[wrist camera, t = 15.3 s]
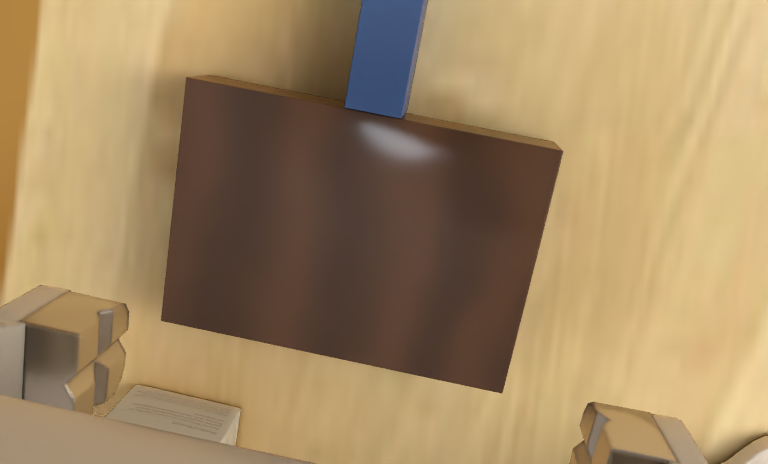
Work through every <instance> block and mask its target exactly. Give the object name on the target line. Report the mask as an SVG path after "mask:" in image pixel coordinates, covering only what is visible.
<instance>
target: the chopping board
mask: <svg viewBox="0 0 768 464" xmlns="http://www.w3.org/2000/svg"><path fill="white" fill-rule="evenodd" d="M344 106H345V101H340V100H335V99H330V98H325V97H320V96H314V95H309V94H304V93H299V92H294V91H289V90H284V89H278V88H273V87H268V86H263V85H258V84H253V83H248V82H242V81H237V80H232V79H227V78H222V77H217V76H212V75H205V76H196V77H187V78H186V87H185V96H184V106H183V115H182V125H181V134H180V144H179V154H178V163H177V173H176V182H175V192H174V201H173V211H172V221H171V230H170V240H169V249H168V259H167V268H166V278H165V287H164V297H163V307H162V316H161V321H165V322H170V323H174V324H179V325H184V326H189V327H193V328H198V329H203V330H207V331H212V332H217V333H221V334H226V335H231V336H235V337H240V338H245V339H249V340H254V341H259V342H264V343H268V344H273V345H278V346H282V347H287V348H292V349H296V350H301V351H306V352H310V353H315V354H320V355H324V356H329V357H334V358H339V359H343V360H348V361H353V362H357V363H362V364H367V365H371V366H376V367H381V368H385V369H390V370H395V371H399V372H404V373H409V374H414V375H418V376H423V377H428V378H432V379H437V380H442V381H446V382H451V383H456V384H460V385H465V386H470V387H474V388H479V389H484V390H489V391H493V392H498V393H503V389H504V385H505V381H506V377H507V373H508V369H509V365H510V361H511V357H512V353H513V349H514V345H515V341H516V337H517V333H518V329H519V326H520V322H521V318H522V314H523V310H524V306H525V302H526V298H527V294H528V290H529V286H530V282H531V278H532V274H533V270H534V266H535V262H536V258H537V254H538V250H539V246H540V242H541V238H542V234H543V230H544V226H545V222H546V218H547V214H548V210H549V206H550V202H551V198H552V194H553V190H554V187H555V183H556V179H557V175H558V171H559V167H560V163H561V159H562V155H563V150H562V149H561V148H560V147H559V146H558V145H557V144H556V143H554V142H551V141H546V140H541V139H536V138H531V137H525V136H520V135H515V134H510V133H505V132H500V131H495V130H489V129H484V128H479V127H474V126H469V125H464V124H459V123H453V122H448V121H443V120H438V119H433V118H428V117H423V116H417V115H412V114H407V113H405V115H404V116H403V117H402V118H401V119H400V118H395V117H390V116H385V115H380V114H375V113H370V112H364V111H359V110H354V109H349V108H345V107H344Z"/></svg>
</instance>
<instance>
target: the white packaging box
mask: <svg viewBox="0 0 768 464" xmlns="http://www.w3.org/2000/svg"><path fill="white" fill-rule="evenodd" d="M240 412H241V409H240V408H237V407H234V406H229V405H225V404H221V403H217V402H212V401H208V400H204V399H200V398H195V397H191V396H187V395H183V394H178V393H174V392H170V391H165V390H161V389H156V388H153V387H148V386H142V385H135V386H134V387H133V388H132V389H131V390H130V391H129V392H128V393H127V394H126V395H125V396H124V397H123V398H122V399H121V400H120V401H119V402H118V404H117V405H116V406H115V407H114V408H113V409H112V410H111V411H110V412H109V413H108V414H107V415H106V416H105V417H106V418H110V419H115V420H119V421H124V422H128V423H133V424H137V425H142V426H147V427H151V428H156V429H160V430H165V431H169V432H174V433H178V434H183V435H188V436H192V437H197V438H201V439H206V440H210V441H215V442H219V443H224V444H229V445H233V446H236V439H237V432H238V425H239V419H240Z"/></svg>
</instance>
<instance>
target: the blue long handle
mask: <svg viewBox="0 0 768 464" xmlns="http://www.w3.org/2000/svg"><path fill="white" fill-rule="evenodd" d="M427 4H428V0H362V4H361V10H360V16H359V22H358V28H357V34H356V40H355V46H354V52H353V58H352V64H351V70H350V76H349V82H348V88H347V94H346V100H345V106H344V107H345V108H349V109H354V110H359V111H364V112H370V113H375V114H380V115H385V116H390V117H395V118H400V119H401V118H402V117H403V116H404V115H405V113H406V112H407V109H408V104H409V98H410V93H411V88H412V82H413V77H414V72H415V67H416V61H417V56H418V51H419V46H420V40H421V35H422V30H423V25H424V19H425V14H426V9H427Z"/></svg>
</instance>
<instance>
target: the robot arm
mask: <svg viewBox="0 0 768 464" xmlns="http://www.w3.org/2000/svg"><path fill="white" fill-rule="evenodd" d="M128 320H129V311H128V308H127V306H126V304H124V303H120V302H115V301H111V300H106V299H102V298H98V297H93V296H89V295H85V294H80V293H76V292H71V291H70V290H66V289H61V288H55V287H50V286H44V285H40V286H38V287H36V288H34V289H32V290H31V291H29V292H27V293H25V294H23V295H22V296H20V297H18V298H16V299H15V300H13V301H11V302H9V303H7V304H6V305H4V306H2V307H0V464H315V463H311V462H306V461H301V460H297V459H292V458H288V457H283V456H279V455H274V454H270V453H265V452H260V451H256V450H251V449H247V448H242V447H238V446H233V445H229V444H224V443H219V442H215V441H210V440H206V439H201V438H197V437H192V436H188V435H183V434H178V433H174V432H169V431H165V430H160V429H156V428H151V427H147V426H142V425H137V424H133V423H128V422H124V421H119V420H115V419H110V418H106V417H101V416H96V415H93V406H97V405H100V404H103V403H106V402H107V401H108V400H109V399H110V398H111V396H112V395H113V394H114V393H115V391H116V389H117V387H118V385H119V383H120V381H121V378H122V374H123V370H124V366H125V357H126V352H125V350H124V348H123V346H122V345H121V343H120V341H119V338H120V337H121V336H122V335H123V334H124V333H125V332H126V331H127V330H128ZM580 428H581V431H582V434H583V438H584V440H583V441H582V442H581V443H580V444H578V445H577V446H576V447H574V448H573V451H572V455H571V459H570V463H569V464H708V463H707V461H706V459H705V458H704V456H703V454H702V453H701V451H700V450H699V448H698V446H697V445H696V443H695V441H694V440H693V438H692V437H691V435H690V433H689V432H688V430H687V428H686V427H685V425H684V423H683V422H682V420H679V419H677V418H673V417H668V416H662V415H656V414H651V413H650V412H644V411H639V410H634V409H628V408H623V407H618V406H612V405H607V404H602V403H596V402H591V403H588V404H587V406H586V409H585V411H584V413H583V416H582V420H581V423H580ZM721 464H768V436H764V437H761V438H759V439H757V440H755V441H753V442H752V443H750V444H749V445H747V446H746V447H744V448H743V449H742V450H740V451H739V452H738V453H736V454H735V455H734V456H732V457H731V458H730V459H729V460H727V461H725V462H723V463H721Z"/></svg>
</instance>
